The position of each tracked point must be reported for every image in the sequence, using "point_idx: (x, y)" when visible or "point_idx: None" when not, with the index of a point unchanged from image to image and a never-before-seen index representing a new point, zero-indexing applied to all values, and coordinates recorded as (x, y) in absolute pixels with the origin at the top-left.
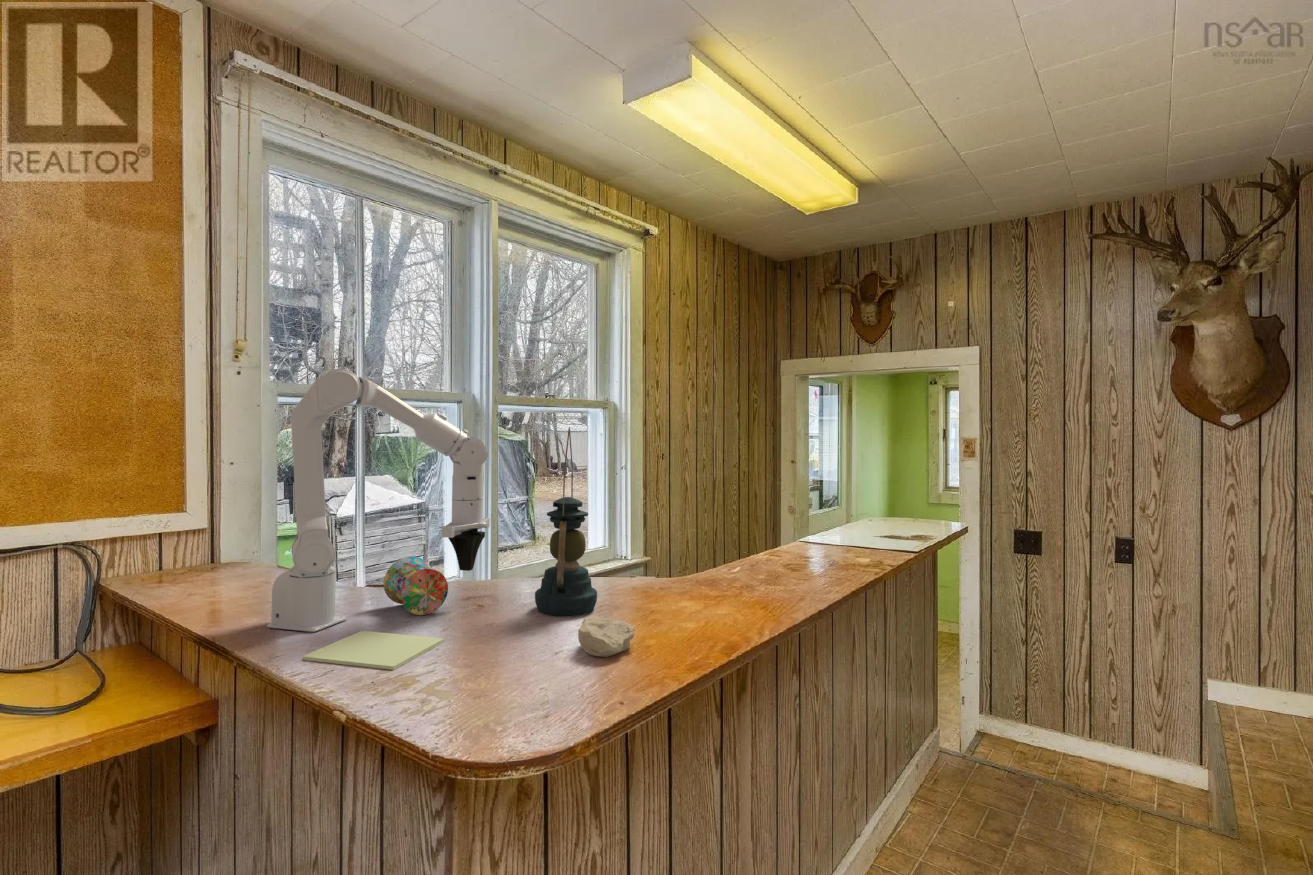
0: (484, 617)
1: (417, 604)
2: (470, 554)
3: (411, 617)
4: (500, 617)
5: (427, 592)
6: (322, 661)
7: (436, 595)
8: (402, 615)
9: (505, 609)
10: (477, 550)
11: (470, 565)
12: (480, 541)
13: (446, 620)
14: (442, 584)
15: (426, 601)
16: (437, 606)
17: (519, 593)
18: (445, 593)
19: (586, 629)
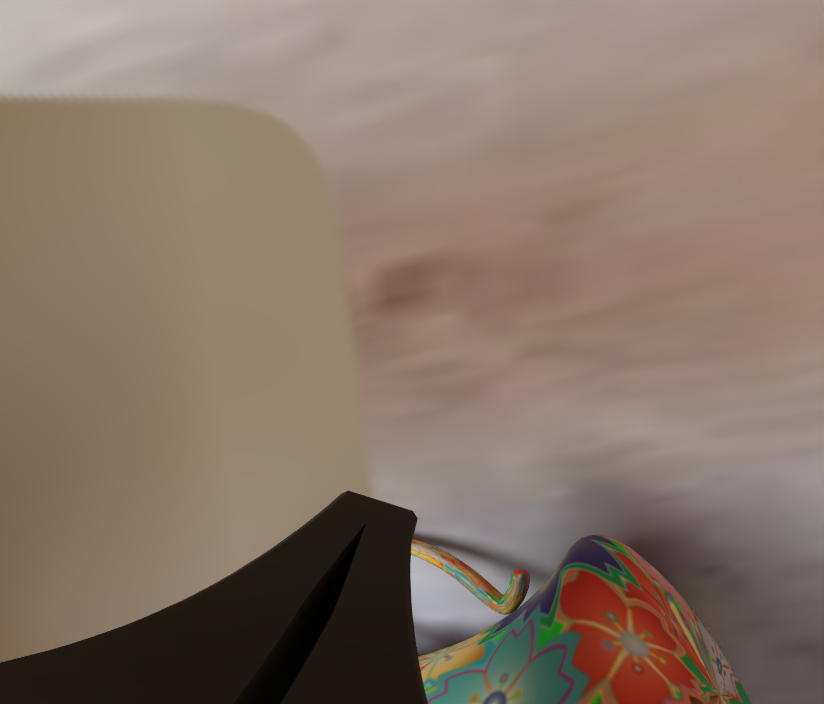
0: (748, 183)
1: (737, 683)
2: (412, 640)
3: None
4: (760, 42)
5: (720, 697)
6: None
7: (670, 618)
8: None
9: (496, 67)
10: (225, 589)
11: (407, 537)
12: (129, 661)
13: (811, 440)
14: (642, 645)
15: (708, 647)
16: (637, 554)
17: (20, 77)
18: (606, 567)
19: None
